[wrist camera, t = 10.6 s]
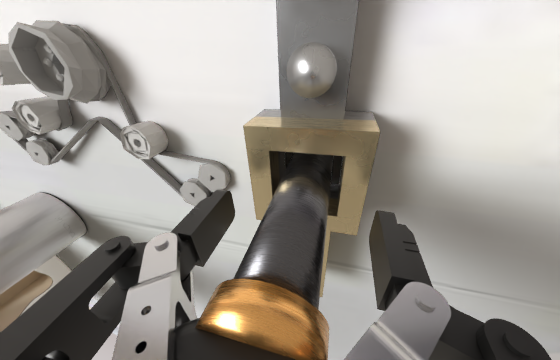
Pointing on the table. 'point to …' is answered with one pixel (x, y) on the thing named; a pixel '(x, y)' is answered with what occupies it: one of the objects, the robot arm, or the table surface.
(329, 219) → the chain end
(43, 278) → the white open frame
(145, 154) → the pulley system
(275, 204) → the pin
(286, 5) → the chain end
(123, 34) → the table surface
